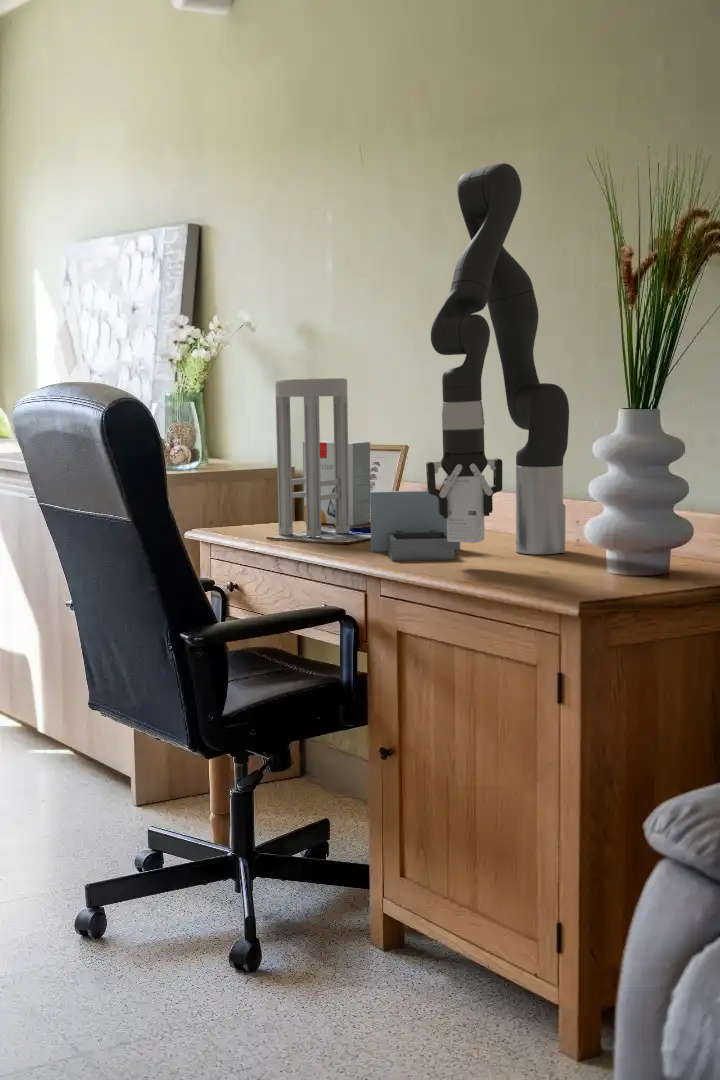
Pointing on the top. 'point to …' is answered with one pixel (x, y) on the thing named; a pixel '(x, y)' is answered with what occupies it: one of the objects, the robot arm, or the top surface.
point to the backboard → (404, 515)
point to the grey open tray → (419, 546)
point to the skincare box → (465, 510)
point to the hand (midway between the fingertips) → (465, 516)
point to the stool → (312, 453)
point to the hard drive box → (357, 481)
